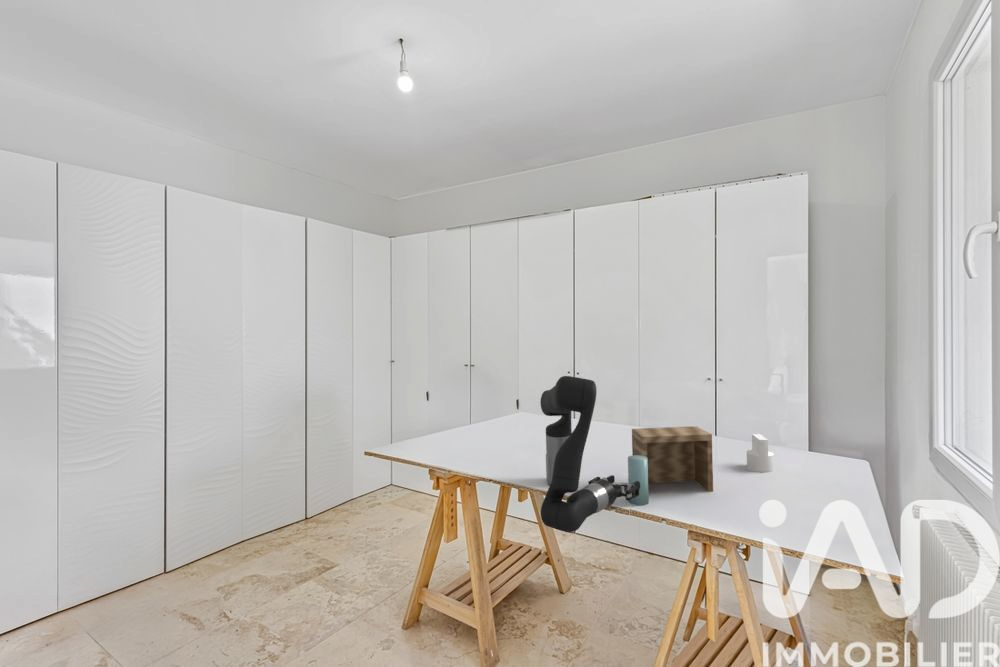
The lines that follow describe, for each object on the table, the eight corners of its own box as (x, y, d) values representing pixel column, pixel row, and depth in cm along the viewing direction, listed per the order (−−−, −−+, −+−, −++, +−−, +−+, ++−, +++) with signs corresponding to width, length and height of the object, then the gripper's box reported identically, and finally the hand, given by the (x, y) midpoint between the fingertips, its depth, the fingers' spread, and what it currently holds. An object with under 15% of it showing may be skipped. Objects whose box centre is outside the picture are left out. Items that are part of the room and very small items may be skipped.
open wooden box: (643, 494, 159) (642, 437, 159) (633, 482, 171) (631, 428, 171) (713, 491, 160) (711, 434, 159) (697, 479, 172) (696, 426, 171)
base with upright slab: (777, 472, 176) (777, 440, 175) (751, 472, 178) (750, 439, 177) (769, 465, 185) (768, 434, 184) (743, 464, 186) (743, 433, 186)
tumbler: (632, 505, 150) (630, 461, 150) (626, 498, 156) (625, 455, 156) (651, 504, 150) (650, 460, 150) (645, 497, 156) (644, 454, 156)
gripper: (618, 489, 131) (647, 473, 143) (575, 478, 141) (605, 464, 153) (619, 516, 131) (647, 499, 143) (575, 503, 141) (605, 488, 153)
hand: (625, 481), depth 148 cm, fingers open, 8 cm apart
